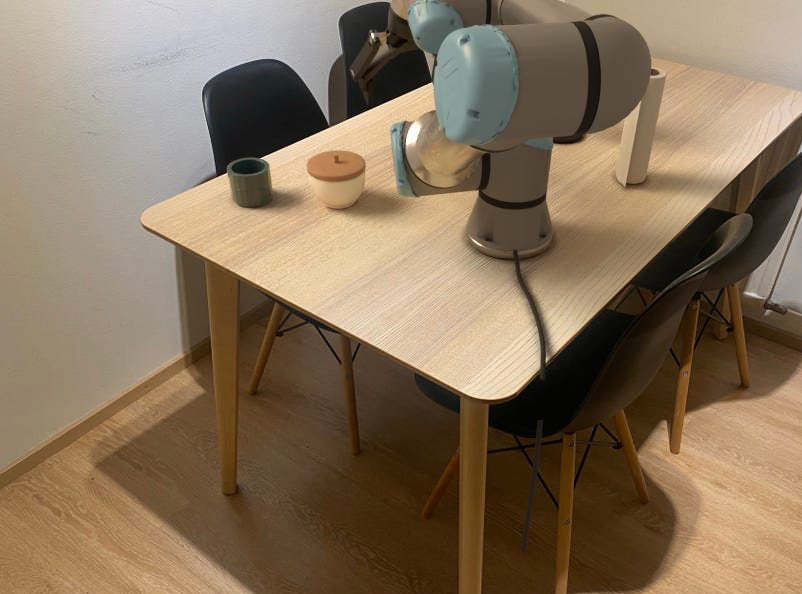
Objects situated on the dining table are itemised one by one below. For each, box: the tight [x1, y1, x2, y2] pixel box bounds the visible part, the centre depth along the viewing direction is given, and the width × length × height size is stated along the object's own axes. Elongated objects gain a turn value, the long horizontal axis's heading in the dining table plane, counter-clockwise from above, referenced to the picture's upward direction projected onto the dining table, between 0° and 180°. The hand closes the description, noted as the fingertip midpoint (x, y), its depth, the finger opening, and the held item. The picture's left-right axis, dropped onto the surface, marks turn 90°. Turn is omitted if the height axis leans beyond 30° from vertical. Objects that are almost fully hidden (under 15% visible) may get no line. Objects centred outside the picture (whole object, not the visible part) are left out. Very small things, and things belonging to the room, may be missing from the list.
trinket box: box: [306, 150, 367, 210], centre depth 142 cm, size 11×11×9 cm
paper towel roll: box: [615, 66, 667, 188], centre depth 148 cm, size 7×6×21 cm
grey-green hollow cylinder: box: [226, 157, 274, 208], centre depth 143 cm, size 8×8×6 cm
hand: (401, 92), depth 144 cm, fingers open, 13 cm apart
